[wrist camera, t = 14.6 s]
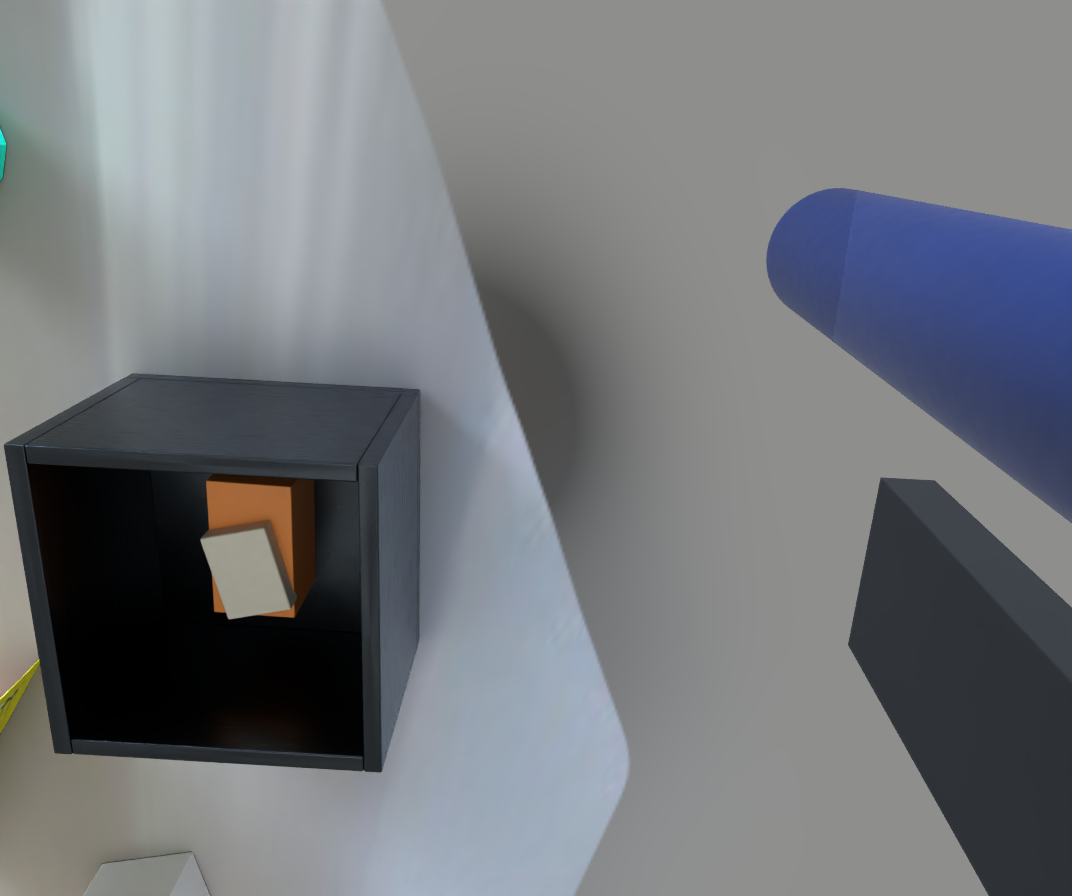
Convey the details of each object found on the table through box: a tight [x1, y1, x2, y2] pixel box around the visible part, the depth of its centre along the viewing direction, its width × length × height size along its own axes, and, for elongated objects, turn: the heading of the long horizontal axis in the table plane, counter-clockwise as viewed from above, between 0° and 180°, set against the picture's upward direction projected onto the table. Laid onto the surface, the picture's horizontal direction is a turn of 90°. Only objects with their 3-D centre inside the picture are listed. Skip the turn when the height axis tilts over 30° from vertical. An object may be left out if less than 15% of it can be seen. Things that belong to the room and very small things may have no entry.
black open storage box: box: [4, 374, 420, 772], centre depth 41 cm, size 15×15×11 cm
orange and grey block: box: [200, 474, 316, 619], centre depth 43 cm, size 4×7×5 cm, turn 176°
